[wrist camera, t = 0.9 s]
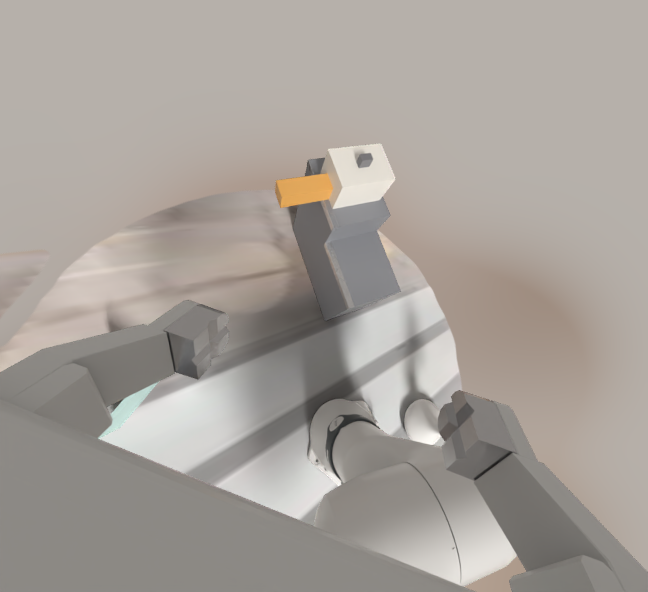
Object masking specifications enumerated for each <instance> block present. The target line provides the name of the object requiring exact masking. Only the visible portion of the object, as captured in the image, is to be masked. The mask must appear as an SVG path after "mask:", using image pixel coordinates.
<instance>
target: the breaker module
mask: <svg viewBox="0 0 648 592" xmlns="http://www.w3.org/2000/svg"><path fill="white" fill-rule="evenodd" d="M395 179H396V178H395V176H394V173H393V171H392V169H391V166H390V164H389V162H388V159H387V157H386V155H385V152H384V150H383V148H382V145H381V144H372V145H362V146H353V147H344V148H334V149H328V151H327V154H326V157H325V160H324V163H323V167H322V170H321V173H320V174H319V175H312V176H304V177H298V178H290V179H284V180H277V181H276V188H275V193H276V196H277V199H278V202H279V205H280V208H282V207H288V206H294V205H300V204H305V203H311V202H317V201H322V200H328V199H329V201H330V204H331V207H332V209H336V208H341V207H347V206H352V205H357V204H362V203H368V202H373V201H378V200H380V199H381V198H382V196H383V195H384V194H385V192H386V191H387V190H388V188H389V187H390V186H391V184H392V183H393V182H394V181H395Z"/></svg>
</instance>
